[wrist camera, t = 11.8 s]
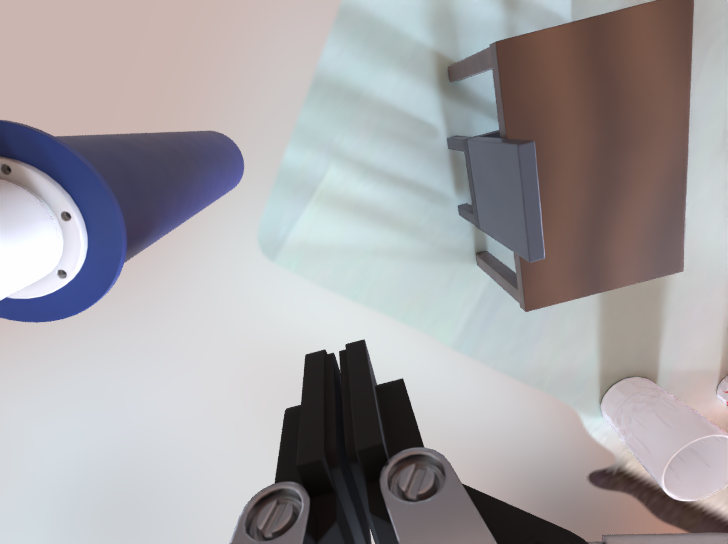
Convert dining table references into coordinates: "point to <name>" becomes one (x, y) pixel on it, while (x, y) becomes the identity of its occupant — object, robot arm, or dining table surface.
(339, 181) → the dining table surface
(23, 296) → the robot arm
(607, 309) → the dining table surface
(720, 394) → the beverage cup
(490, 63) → the desk
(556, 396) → the dining table surface
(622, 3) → the dining table surface
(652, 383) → the white cup
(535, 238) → the chair
